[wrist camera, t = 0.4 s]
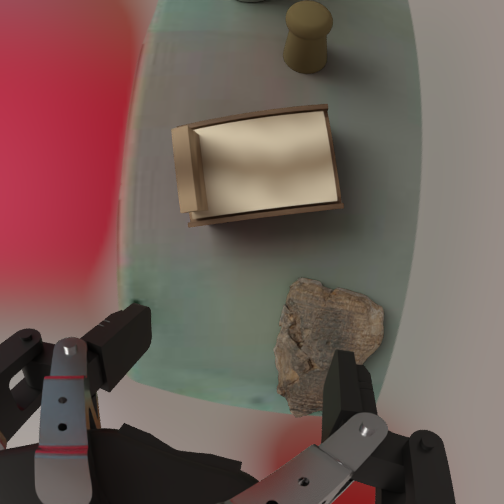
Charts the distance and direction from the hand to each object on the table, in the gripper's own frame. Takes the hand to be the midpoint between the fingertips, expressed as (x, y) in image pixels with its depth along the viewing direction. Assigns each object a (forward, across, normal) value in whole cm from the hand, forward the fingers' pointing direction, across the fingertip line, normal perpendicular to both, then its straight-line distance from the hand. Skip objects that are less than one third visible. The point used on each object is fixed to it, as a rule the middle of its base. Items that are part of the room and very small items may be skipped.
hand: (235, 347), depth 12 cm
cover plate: (+21, +4, -7) cm, 22 cm away
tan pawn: (+31, +1, -23) cm, 39 cm away
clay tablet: (+26, -7, +17) cm, 32 cm away
